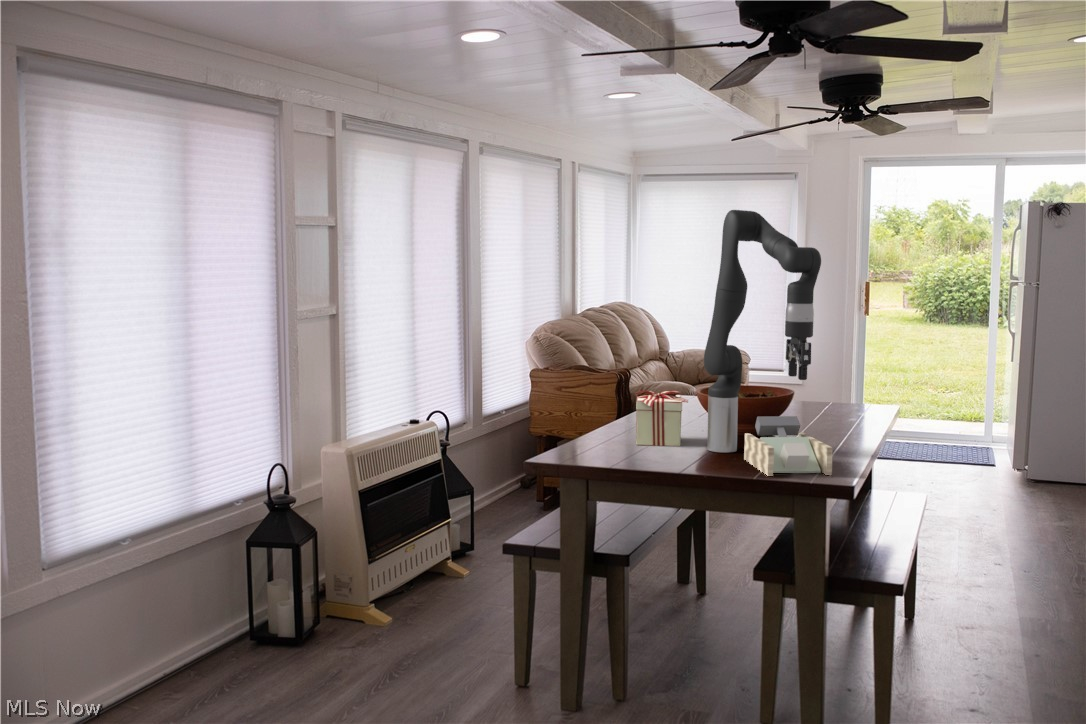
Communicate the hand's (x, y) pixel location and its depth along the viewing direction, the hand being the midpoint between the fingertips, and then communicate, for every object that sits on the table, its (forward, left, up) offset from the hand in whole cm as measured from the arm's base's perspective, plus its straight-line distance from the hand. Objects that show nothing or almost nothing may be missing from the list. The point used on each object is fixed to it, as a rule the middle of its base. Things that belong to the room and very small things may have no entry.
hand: (797, 378), depth 263 cm
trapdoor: (-10, 0, -23) cm, 25 cm away
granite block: (-2, 0, -24) cm, 24 cm away
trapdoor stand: (-8, 0, -27) cm, 28 cm away
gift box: (-49, -29, -27) cm, 63 cm away
